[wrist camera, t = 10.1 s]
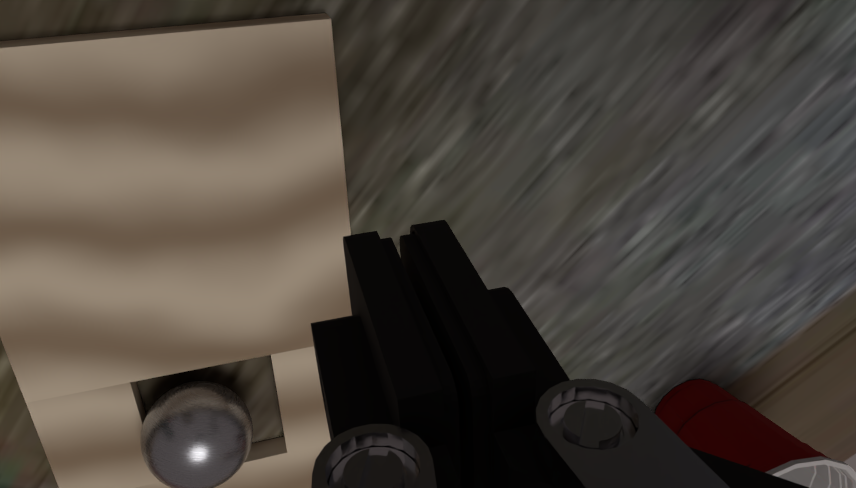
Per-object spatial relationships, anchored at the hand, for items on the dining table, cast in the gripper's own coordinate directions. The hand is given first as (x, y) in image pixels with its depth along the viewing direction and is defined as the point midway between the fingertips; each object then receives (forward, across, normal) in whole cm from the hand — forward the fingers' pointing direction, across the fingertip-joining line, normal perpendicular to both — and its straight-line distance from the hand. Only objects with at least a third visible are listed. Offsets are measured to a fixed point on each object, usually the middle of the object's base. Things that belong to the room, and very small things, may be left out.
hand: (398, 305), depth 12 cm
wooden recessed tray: (+26, +7, +15) cm, 31 cm away
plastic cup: (+27, -26, +33) cm, 50 cm away
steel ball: (+22, +8, +22) cm, 32 cm away
